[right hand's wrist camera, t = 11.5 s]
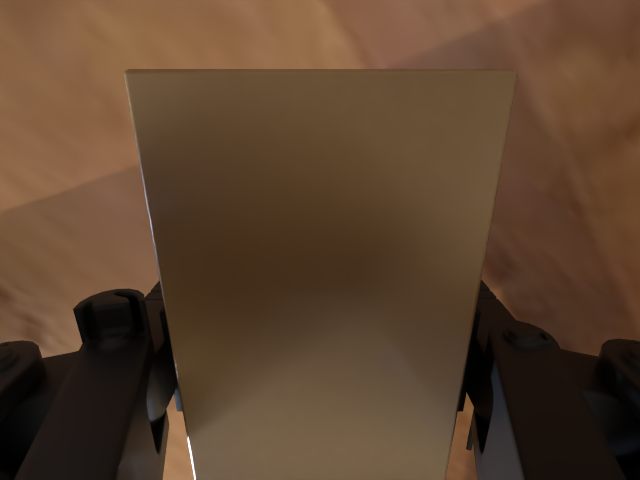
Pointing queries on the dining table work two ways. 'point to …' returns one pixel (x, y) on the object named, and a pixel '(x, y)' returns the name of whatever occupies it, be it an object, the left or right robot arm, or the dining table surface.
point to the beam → (320, 259)
